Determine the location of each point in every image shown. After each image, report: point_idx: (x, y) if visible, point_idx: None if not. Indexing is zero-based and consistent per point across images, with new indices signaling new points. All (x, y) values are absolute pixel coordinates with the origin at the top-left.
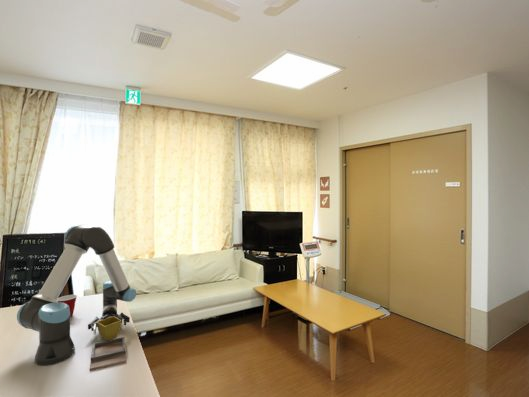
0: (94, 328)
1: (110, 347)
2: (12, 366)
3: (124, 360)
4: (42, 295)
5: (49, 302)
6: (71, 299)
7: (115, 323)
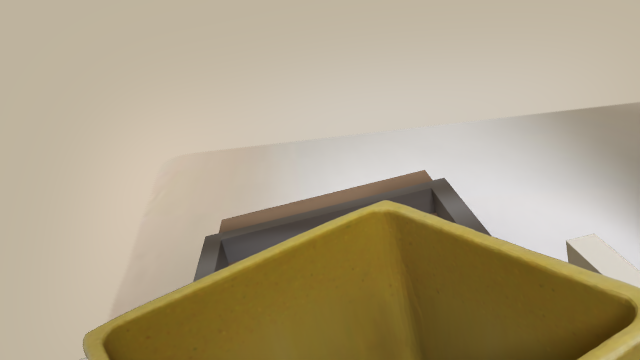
0: (601, 255)
1: None
2: None
3: (229, 218)
4: None
5: None
6: None
7: (213, 294)
